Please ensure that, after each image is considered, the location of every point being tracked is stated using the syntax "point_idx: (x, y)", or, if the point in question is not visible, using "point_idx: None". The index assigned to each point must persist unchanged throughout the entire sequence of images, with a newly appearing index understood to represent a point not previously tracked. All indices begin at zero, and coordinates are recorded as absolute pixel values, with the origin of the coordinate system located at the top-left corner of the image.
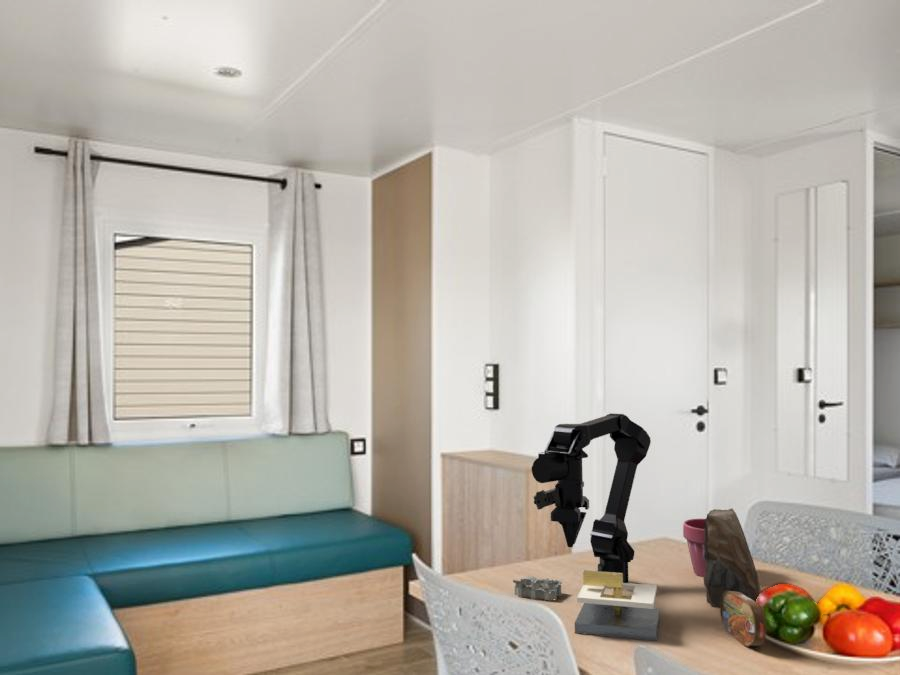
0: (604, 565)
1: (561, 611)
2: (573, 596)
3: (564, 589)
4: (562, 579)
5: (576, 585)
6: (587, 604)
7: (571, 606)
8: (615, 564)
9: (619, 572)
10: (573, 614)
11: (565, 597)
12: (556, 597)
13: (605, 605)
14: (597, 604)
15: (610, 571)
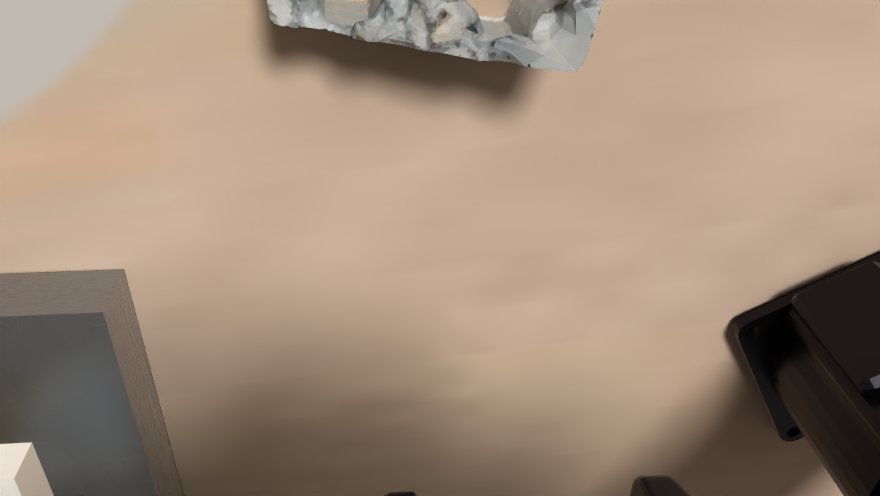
0: (866, 411)
1: (25, 108)
2: (481, 129)
3: (680, 17)
4: (576, 71)
5: (809, 99)
6: (55, 339)
7: (201, 161)
8: (847, 488)
9: (817, 454)
10: (6, 209)
11: (435, 70)
12: (355, 4)
13: (100, 439)
14: (96, 395)
15: (826, 411)
